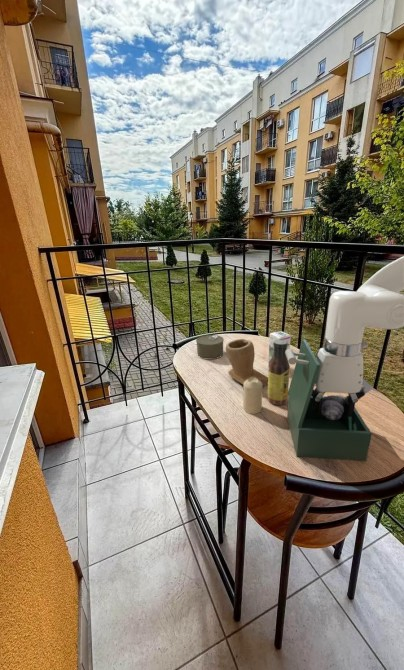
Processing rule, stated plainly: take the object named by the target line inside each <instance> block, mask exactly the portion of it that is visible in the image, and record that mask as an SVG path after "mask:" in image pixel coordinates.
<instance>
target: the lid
mask: <svg viewBox="0 0 404 670" xmlns="http://www.w3.org/2000/svg"><path fill="white" fill-rule="evenodd" d="M307 341H308V340H307V339H302V340H301V344H300V348H299V351H298V352H296V351H293V349H291V348H290V349H287V350H286V351H285V354H286V356H287V359H288V362H289V365H295V366H294V368H293V373H292V376H291V380H290V382H289V386H288V401H289V400H290V403H291V407H292V410H293V414H294V417H295V420H296V424H297V427H298V428H301V427H302V424H303V420H304V417H305V414H306V411H307V408H308V404H309V401H310V398H311V395H312V392H313V389H315V386H316V384H315V382H316V379H317V376H318V373H319V369H320V366H321V365H320V363H319V362H318V360H317V356H316V355H315V354H314V351H313V350H312V348H311V346H310V344H309V342H307Z"/></svg>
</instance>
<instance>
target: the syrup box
mask: <svg viewBox="0 0 404 670" xmlns="http://www.w3.org/2000/svg"><path fill="white" fill-rule="evenodd" d="M291 337H292V336H291V334H288V333H287V332H284V331H281V330H278V331H274V332H270V333H269V339H268V341H269V342H268V366H267V368H269V362H270V360H271V358H272V357H273V356H274V355H273V353H274V346H273V343H274V341H275V340H284V341H287V343H288V346H287V349H291V339H292V338H291ZM288 363H289V362H288Z"/></svg>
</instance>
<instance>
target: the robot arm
mask: <svg viewBox="0 0 404 670" xmlns="http://www.w3.org/2000/svg"><path fill="white" fill-rule="evenodd" d="M402 291H404V255H403V256H401V257H399V258H397V259H396V260H395V259H394V260H393V261H391V262H390V263H388V264H387V265H385V266H383V267H382V268H381V269H379V270H377V271H376V272H375V273H374V274H373V275H372V276H370V278H368V279H367V280H366V281H365V282H363V283H362V285H360V286H359V288H358V289H357V290H356V291H354V290H339V291H335V292H334V293H332V294H331V295H330V297H329V301H328V307H327V308H328V309H327V317H326V324H325V325H326V326H325V333H324V343H323V347H320V348H319V350H318V353H317V356H316V358H317V360H318V362H319V363H320V365H321V366H320V369H319V373H318V376H317V379H316V382H315V387H314V388H313V392H312V395H311V396H312V397H313V398H314V401H313V409H314V410H315V411H316V413H317V415H321V409H322V401H321V398H322V397H323V396H324V395H325V394H326V393H333V394H334V393H335V394H348V395H346V396H345V397H346V399H345V406H344V410H345V412H346V414H347V416H349V417H351V416H352V412H354V407H355V408H356V403H358V402H359V400H360V399H361V398H363V397H364V396H366V394H368V393H369V392H371V391H372V390H373V386H372V385H371V384H370V383H369V382H368V381H367V380H366V379H365V378H364V355H363V353H362V350H363V349H366V348H368V347H369V343H368V341H364V340H363V337H364V332H365V328H374V329H381V330H396V329H401V328H403V327H404V295H403V294H401V293H400V292H402Z"/></svg>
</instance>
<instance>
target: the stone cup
mask: <svg viewBox="0 0 404 670" xmlns="http://www.w3.org/2000/svg"><path fill="white" fill-rule="evenodd" d="M225 354H226V357H227V359H228V361H229V363H230V365H231V369H229V370H228V375H229V376H230V377H231V378H232V379H234V380H235V381H237V382H238V383H240V384H241V385H242V386H244V382H245V381H246V380H247V379H250V378H251V377H254V378H257V379H258V380H259V381H260V382H261V383H262V387H263V386H265V385H268V376H267V375H265V374H264V373H261V372H260V371H259V370H256V369H255V368H254V364H255V363H254V362H255V354H256V353H255V346H254V344H253V342H252V340H249V339H245V338H237V339H234V340H231V341H229V342H227V344H226V345H225Z"/></svg>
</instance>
